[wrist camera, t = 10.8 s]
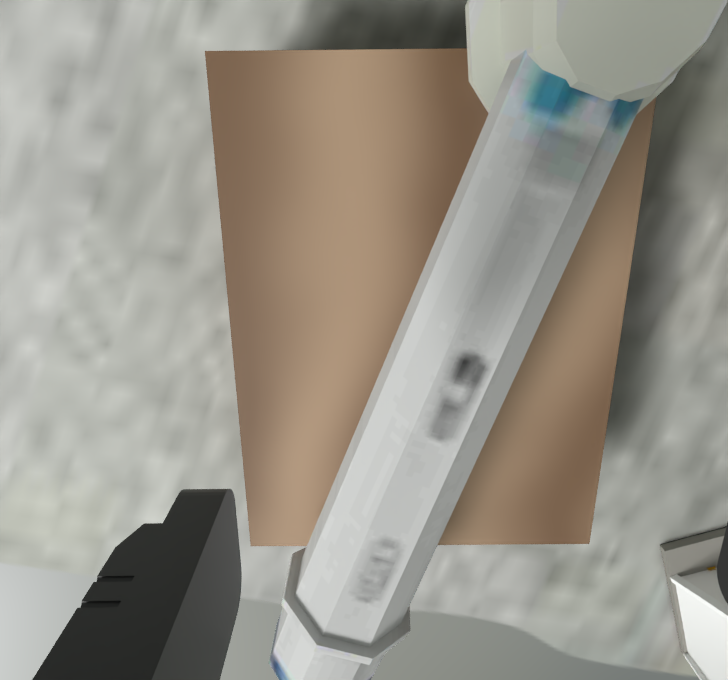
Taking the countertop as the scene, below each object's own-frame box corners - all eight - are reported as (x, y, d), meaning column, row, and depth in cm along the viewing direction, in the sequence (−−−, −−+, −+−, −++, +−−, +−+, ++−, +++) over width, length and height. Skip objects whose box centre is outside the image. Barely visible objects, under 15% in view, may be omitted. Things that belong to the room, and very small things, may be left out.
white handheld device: (237, 698, 18) (631, -383, 7) (275, 542, 24) (518, -167, 13) (387, 734, 18) (971, -222, 7) (387, 571, 24) (710, -87, 13)
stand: (268, 486, 24) (250, 546, 20) (237, 73, 19) (204, 51, 15) (554, 484, 24) (589, 543, 20) (603, 69, 19) (663, 46, 15)
